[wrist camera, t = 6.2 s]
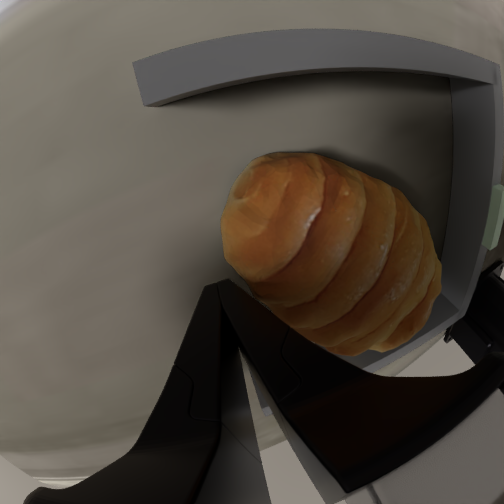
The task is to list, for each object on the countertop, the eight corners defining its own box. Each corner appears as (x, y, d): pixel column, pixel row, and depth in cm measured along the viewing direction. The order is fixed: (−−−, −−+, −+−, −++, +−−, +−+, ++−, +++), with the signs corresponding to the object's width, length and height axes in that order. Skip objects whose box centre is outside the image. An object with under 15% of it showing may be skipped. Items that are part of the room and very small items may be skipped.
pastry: (175, 258, 9) (178, 337, 6) (289, 93, 8) (359, 91, 4) (339, 329, 14) (375, 383, 11) (421, 230, 12) (475, 269, 9)
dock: (457, 59, 7) (510, 66, 5) (441, 292, 15) (470, 321, 12) (147, 76, 6) (126, 57, 3) (252, 377, 14) (268, 426, 11)
